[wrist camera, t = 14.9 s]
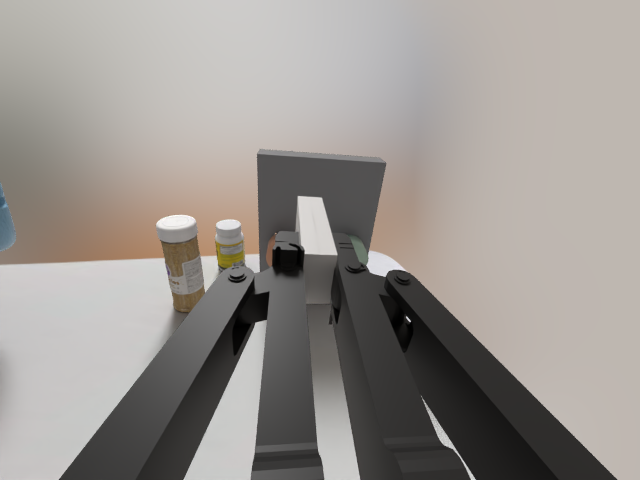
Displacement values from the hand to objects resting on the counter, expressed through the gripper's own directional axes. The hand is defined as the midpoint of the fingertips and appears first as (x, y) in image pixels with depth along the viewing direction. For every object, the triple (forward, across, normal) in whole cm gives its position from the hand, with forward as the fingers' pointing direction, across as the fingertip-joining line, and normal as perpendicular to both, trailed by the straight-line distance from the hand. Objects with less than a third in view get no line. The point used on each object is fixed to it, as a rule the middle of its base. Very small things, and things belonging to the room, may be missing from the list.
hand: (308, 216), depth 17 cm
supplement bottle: (+26, -10, -23) cm, 36 cm away
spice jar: (+16, -15, -23) cm, 32 cm away
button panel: (+19, +3, -22) cm, 30 cm away
